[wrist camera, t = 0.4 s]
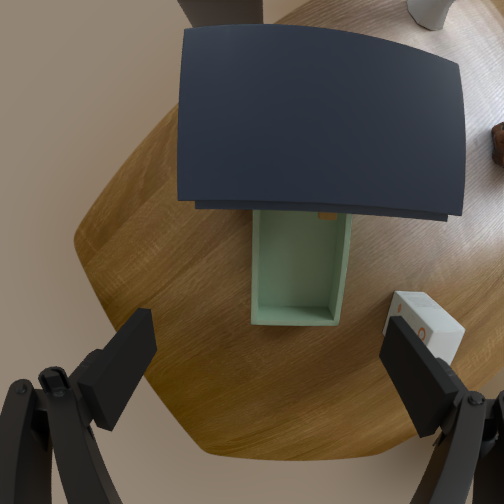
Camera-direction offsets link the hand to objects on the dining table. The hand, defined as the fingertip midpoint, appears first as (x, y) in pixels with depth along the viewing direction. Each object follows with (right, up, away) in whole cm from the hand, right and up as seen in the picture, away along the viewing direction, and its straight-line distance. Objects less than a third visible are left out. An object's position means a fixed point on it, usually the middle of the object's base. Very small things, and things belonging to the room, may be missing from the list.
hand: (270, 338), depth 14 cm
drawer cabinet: (+5, +19, +21) cm, 29 cm away
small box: (+24, -5, +27) cm, 37 cm away
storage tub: (+5, +5, +25) cm, 26 cm away
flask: (+28, +44, +12) cm, 54 cm away
